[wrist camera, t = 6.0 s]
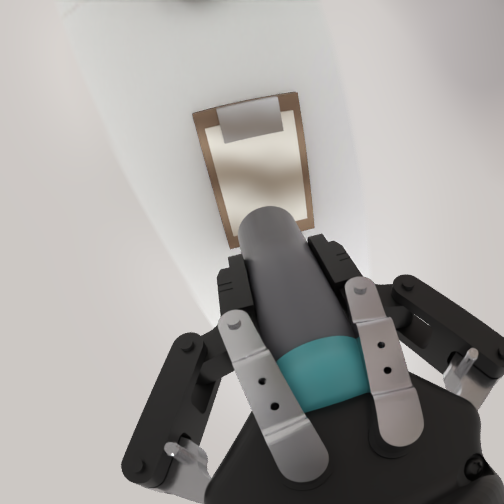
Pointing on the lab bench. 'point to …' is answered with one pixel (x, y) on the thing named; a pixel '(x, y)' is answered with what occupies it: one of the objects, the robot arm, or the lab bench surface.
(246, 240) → the marker
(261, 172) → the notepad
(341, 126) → the lab bench surface
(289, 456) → the robot arm
